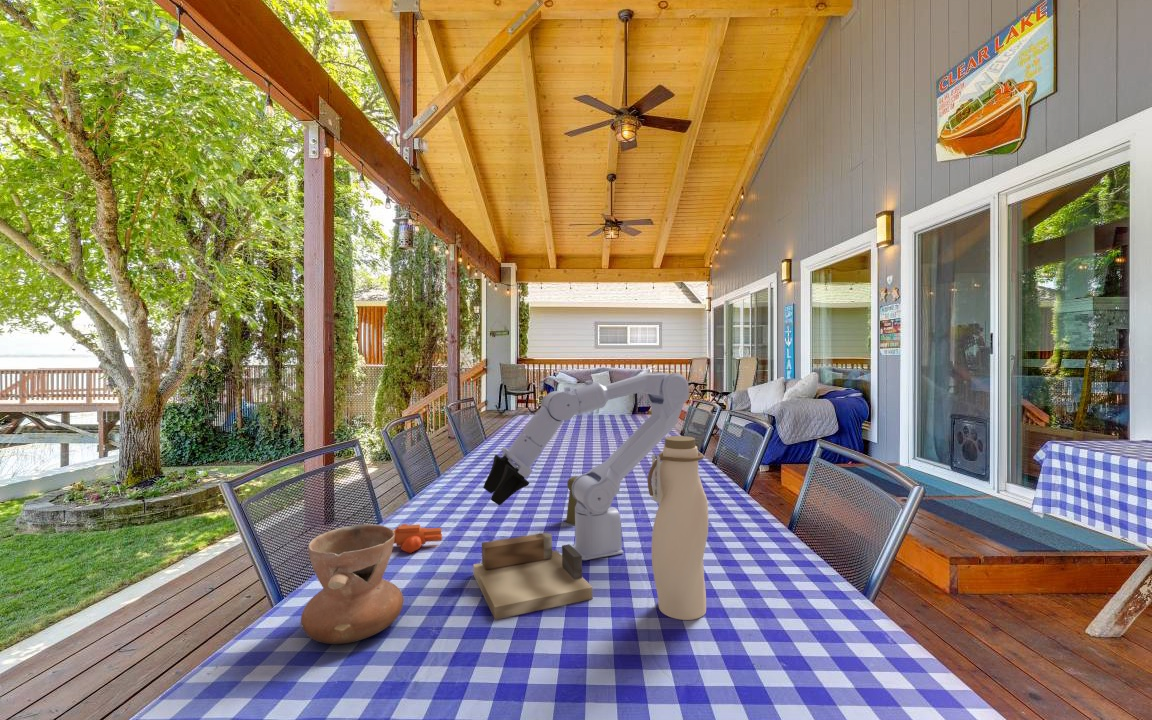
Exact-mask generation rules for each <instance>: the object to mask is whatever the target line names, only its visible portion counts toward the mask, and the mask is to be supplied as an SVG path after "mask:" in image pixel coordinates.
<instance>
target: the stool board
mask: <svg viewBox="0 0 1152 720" xmlns="http://www.w3.org/2000/svg"><path fill="white" fill-rule="evenodd" d="M571 545H572V544H562V545H561V553H560V552H559V551H558V550H557V549H556V550H552V557H551V558H549V559H543V560H537V561H531V562H526V563H520V564H514V565H508V566H503V567H497V568H491V569H486V570H485V568H484V566H483V564H482V562H480V563H473V567H472V568H473V577H474V578H475V581H476V583H477V585H478V588H479V589H480V591H481V593H482V596H483V598H484V600H485V601H486V603H487V606H488V608H489V610H490V612H491V614H492V617H493V618H494V620H495V621H496V620H500V619H505V618H509V617H514V616H519V615H524V614H528V613H533V612H536V611H542V610H547V609H551V608H556V607H560V606H566V605H570V604H576V603H579V602H583V601H590V600H593V597H594V596H593V591H594V590H593V586H592V585H591V584H590V583H589V582H588V581H587V580H586V579H585V578H584V577H583V560H582V556H581V555H580V554H579V553H578V552H577V551H576V550H575V549H574V548H573V547H572V546H571Z"/></svg>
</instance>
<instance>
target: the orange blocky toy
mask: <svg viewBox="0 0 1152 720" xmlns="http://www.w3.org/2000/svg"><path fill="white" fill-rule="evenodd" d="M391 530H393V531H394V533H395V539H394V544H395V545H396V546H399V547H400V550H402V551H403V552H406V553H409V554H412V552H413V553H414V552H416V551H417V550H419V549H420V548H421V547H422V545H425V544H426V543H427V542H429V543H430V542H439V541H440V542H441V541H442V539H443V534H442V527H429V528H428V527H427V528H426V527H421V524H407V523H403V524H400V525H399V526H397V527H396V528H393V529H391ZM394 544H393V545H394Z"/></svg>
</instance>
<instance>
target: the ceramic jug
mask: <svg viewBox="0 0 1152 720" xmlns="http://www.w3.org/2000/svg"><path fill="white" fill-rule="evenodd" d="M394 539H395V533H394V531H393V530H392V529H391V528H390V527H388V526H385V525H381V524H370V523H369V524H368V523H367V524H366V523H365V524H363V523H362V524H356V525H352V526H342V527H338V528H335V529H331V530H329V531H327V532H323V533H322V534H319V535H317V536H316V537H314V538H313V539H312V540H310V541H309V543H308V546H307V548H308V549H307V550H308V556H309V559H310V560H309V561H310V563H311V566H312V569H313V572H314V574H315V576H316V578H317V580H318V582H319V583H320V585H321V587H322V589H321V590H320V591H319V592H318V593H317V594H315V595H314V596H313V597H312V598H311V599H309V601H308V602H307V603H306V605H305V606H304V608H303V611H302V613H301V617H300V624H301V627H302V629H303V631H304V633H305V634H306V636H308V637H309V639H312V640H314V641H316V642H318V643H319V642H320V643H323V644H331V645H337V644H338V645H341V644H349V643H354V642H358V641H361V640H364V639H368V638H370V637H372V636H374V635H377V634H378V633H380V632H383V630H385V629H387V628H388V627H389V626H390V625H392V624H393V623H394V622H395V621H396V619H398V617H399V615H400V614H401V612H402V610H403V606H404V595H403V593H402V590H401V589H400V588H399V587H398V586H397V585H396V584H394V583H393V582H391V581H389V580H386V579H385V578H383V577H384V575H385V572H386V570H387V567H388V564H389V561H390V558H391V555H392V551H393V549H394Z"/></svg>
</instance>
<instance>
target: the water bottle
mask: <svg viewBox="0 0 1152 720" xmlns="http://www.w3.org/2000/svg"><path fill="white" fill-rule="evenodd" d="M704 458H705V457H704V454H703V453H701V452H699V451H698V446H697V445H696V438H695V437H692V436H686V435H683V436H682V435H674V436H673V435H672V436H665V437H664V445H663V450H662V452H660V453H659V454H658V456H657V455H653V454H652V456H651V461H652V463H651V467H650V468H649V472H648V476H647V488H648V492H649V493H648V495H649V496H651V500H653V501H654V502H656V504H658V507H657V510H656V513H655V514H656V515H655V517H654V521H653V526H652V535H651V552H650V553H651V566H652V573H653V579H654V584H655V588H656V589H655V590H656V594H657V601H658V609H659V611H660V612H661V613H662V614H663V615H665V616H667V617H669V618H672V619H675V620H684V621H689V620H690V621H692V620H696V619H699V618H702V617H703V616H705V614H706V613H707V593H706V582H705V569H704V567H705V566H704V556H705V555H704V554H705V550H706V546H707V545H706V544H707V541H708V533H709V503H708V498H707V495H706V492H705V491H704V487H703V484H702V480H701V477H700V474H699V461H702V460H703V459H704Z"/></svg>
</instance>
